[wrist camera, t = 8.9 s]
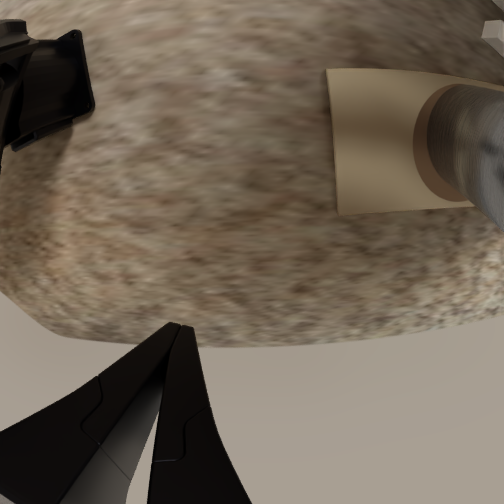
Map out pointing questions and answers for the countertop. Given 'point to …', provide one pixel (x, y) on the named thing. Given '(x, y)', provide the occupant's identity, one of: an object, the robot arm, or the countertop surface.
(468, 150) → the grey lidded jar
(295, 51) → the countertop surface
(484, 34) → the dollhouse
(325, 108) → the countertop surface
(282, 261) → the countertop surface
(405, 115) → the tan rectangular board
